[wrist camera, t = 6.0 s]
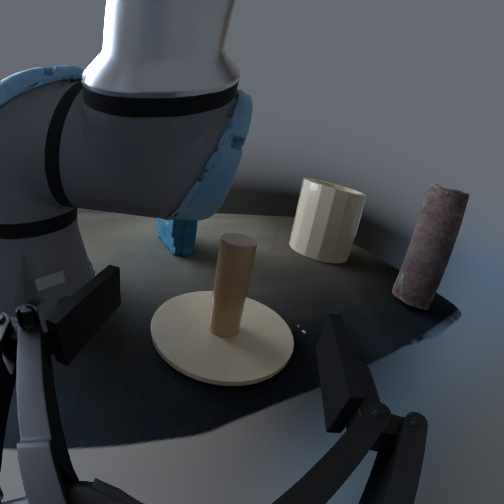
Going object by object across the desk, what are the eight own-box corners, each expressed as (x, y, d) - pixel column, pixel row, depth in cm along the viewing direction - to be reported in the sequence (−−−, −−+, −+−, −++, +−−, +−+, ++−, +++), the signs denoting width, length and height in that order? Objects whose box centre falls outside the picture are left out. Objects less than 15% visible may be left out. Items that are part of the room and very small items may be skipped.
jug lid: (127, 364, 21) (120, 251, 17) (176, 289, 33) (184, 206, 30) (292, 403, 20) (336, 298, 17) (289, 313, 33) (312, 232, 30)
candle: (418, 319, 37) (465, 191, 29) (382, 297, 42) (421, 175, 34) (432, 307, 41) (472, 196, 34) (400, 288, 46) (435, 182, 39)
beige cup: (290, 255, 52) (307, 182, 47) (288, 234, 63) (301, 175, 59) (354, 268, 52) (374, 199, 47) (341, 246, 63) (356, 189, 58)
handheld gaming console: (196, 256, 43) (210, 158, 38) (171, 258, 41) (183, 155, 36) (174, 234, 50) (184, 151, 45) (152, 235, 48) (161, 149, 43)
